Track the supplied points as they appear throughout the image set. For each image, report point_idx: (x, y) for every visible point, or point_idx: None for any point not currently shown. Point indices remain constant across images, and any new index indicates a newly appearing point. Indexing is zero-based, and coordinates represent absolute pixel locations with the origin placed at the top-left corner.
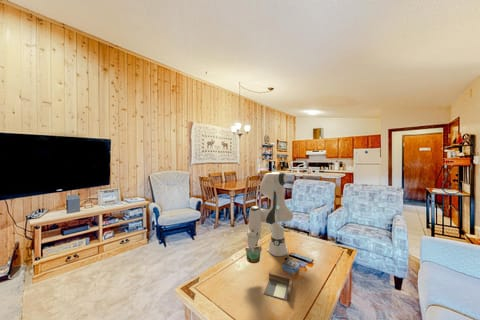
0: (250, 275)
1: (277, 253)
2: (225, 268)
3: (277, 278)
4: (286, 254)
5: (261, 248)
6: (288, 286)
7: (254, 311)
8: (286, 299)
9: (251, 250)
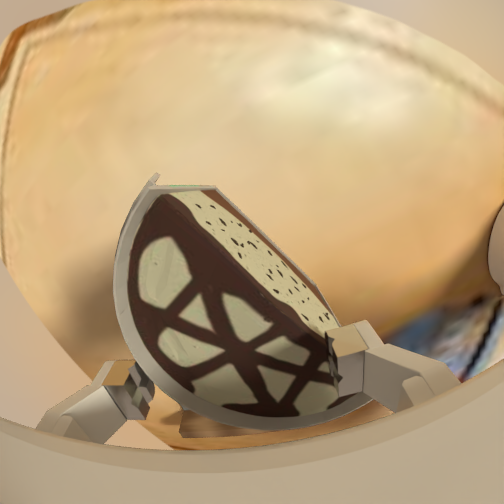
0: (246, 198)
1: (498, 261)
2: (220, 21)
3: None
4: (501, 290)
5: (319, 411)
6: (220, 430)
7: (61, 330)
8: (184, 409)
9: (135, 342)
